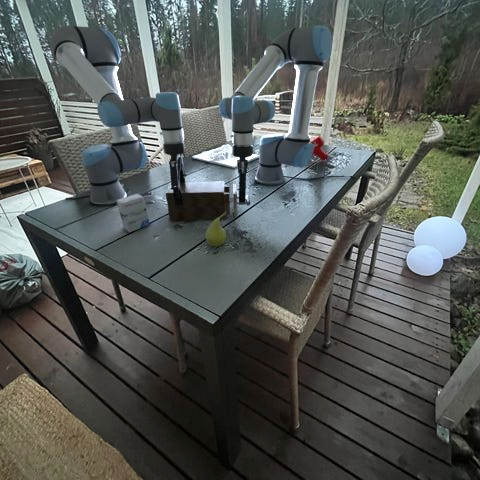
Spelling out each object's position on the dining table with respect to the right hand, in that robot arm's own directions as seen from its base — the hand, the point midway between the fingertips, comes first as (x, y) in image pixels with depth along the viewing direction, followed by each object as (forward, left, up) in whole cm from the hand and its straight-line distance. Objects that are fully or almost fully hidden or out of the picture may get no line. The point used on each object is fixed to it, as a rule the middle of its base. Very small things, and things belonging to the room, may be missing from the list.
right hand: (242, 203), depth 111 cm
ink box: (+35, +23, -4) cm, 42 cm away
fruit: (+1, +25, -4) cm, 26 cm away
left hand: (+23, +8, +3) cm, 25 cm away
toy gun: (-19, -84, -4) cm, 86 cm away
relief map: (+35, -73, -4) cm, 81 cm away
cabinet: (+17, +6, -4) cm, 18 cm away
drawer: (+9, +3, -3) cm, 10 cm away
